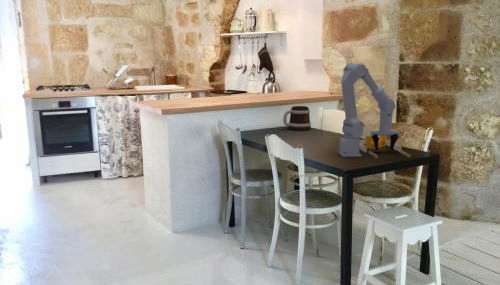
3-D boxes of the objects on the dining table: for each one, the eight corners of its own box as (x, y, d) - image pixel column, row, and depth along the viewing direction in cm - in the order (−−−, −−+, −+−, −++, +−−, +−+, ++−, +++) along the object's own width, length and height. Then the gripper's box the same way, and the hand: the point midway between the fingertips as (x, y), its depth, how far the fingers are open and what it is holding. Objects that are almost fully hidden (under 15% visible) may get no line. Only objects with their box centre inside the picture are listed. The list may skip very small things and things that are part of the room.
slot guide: (375, 158, 205) (375, 155, 205) (368, 153, 215) (368, 151, 215) (410, 157, 206) (410, 155, 206) (401, 153, 216) (402, 150, 216)
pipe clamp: (371, 149, 226) (371, 137, 225) (365, 147, 230) (365, 135, 229) (388, 147, 232) (388, 135, 230) (382, 145, 235) (382, 133, 234)
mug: (303, 126, 298) (303, 105, 296) (315, 130, 285) (316, 107, 282) (277, 128, 290) (278, 106, 287) (289, 132, 277) (289, 108, 274)
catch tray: (365, 152, 218) (365, 147, 217) (352, 144, 238) (353, 139, 238) (401, 151, 219) (401, 146, 218) (385, 143, 239) (386, 139, 239)
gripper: (374, 124, 210) (372, 151, 213) (403, 123, 211) (401, 151, 214) (369, 122, 217) (367, 148, 220) (397, 121, 218) (395, 148, 221)
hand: (383, 149), depth 217 cm, fingers open, 7 cm apart
